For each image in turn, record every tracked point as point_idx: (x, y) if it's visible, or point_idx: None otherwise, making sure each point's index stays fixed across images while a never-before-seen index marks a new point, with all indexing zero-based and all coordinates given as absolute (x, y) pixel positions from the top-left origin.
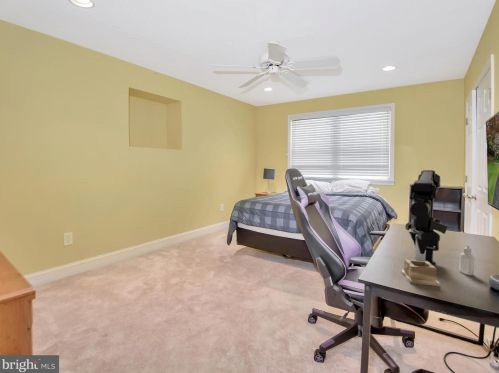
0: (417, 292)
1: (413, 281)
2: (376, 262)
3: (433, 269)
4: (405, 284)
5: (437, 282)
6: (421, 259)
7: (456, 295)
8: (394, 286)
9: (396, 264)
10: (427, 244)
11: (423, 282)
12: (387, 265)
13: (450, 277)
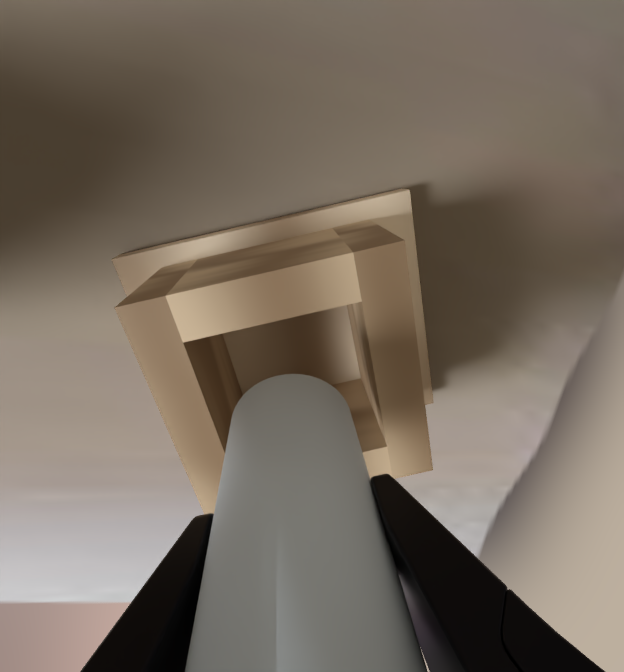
0: (571, 360)
1: (430, 384)
2: (79, 581)
3: (403, 270)
4: (453, 420)
5: (395, 210)
6: (356, 432)
7: (573, 86)
8: (506, 474)
9: (23, 471)
10: (586, 664)
11: (423, 319)
12: (101, 522)
13: (96, 24)
